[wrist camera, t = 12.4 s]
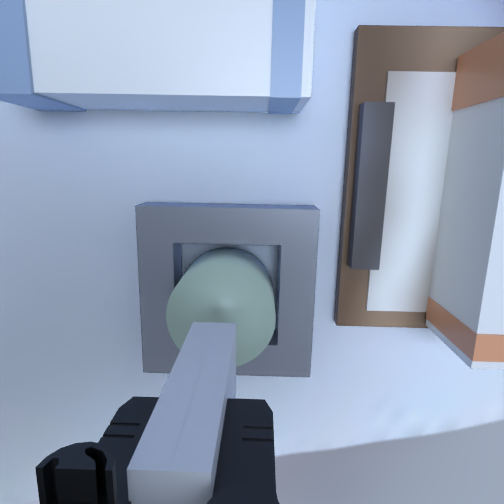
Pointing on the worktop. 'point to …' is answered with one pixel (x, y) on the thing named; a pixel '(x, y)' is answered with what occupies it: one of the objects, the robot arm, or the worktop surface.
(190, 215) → the button base
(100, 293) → the worktop surface
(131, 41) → the blue-capped white block
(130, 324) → the worktop surface
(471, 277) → the orange-capped white block
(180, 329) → the button
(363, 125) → the clipboard
